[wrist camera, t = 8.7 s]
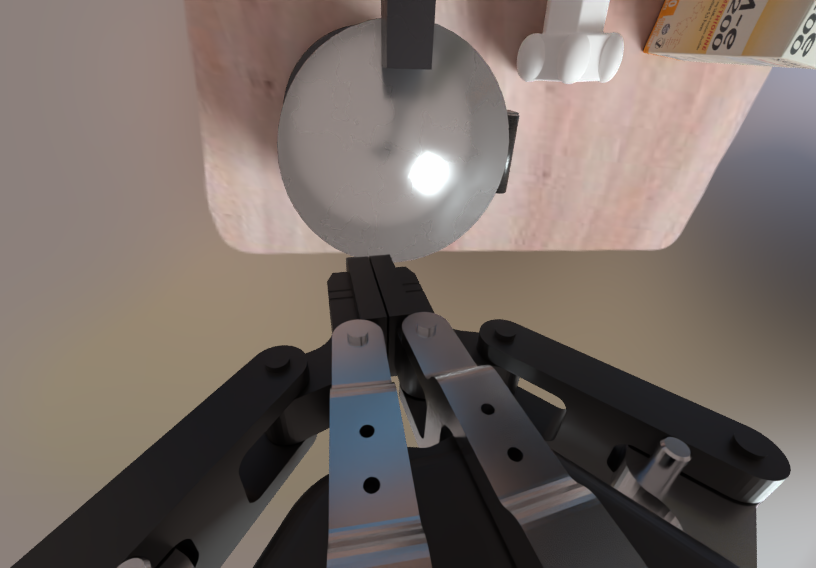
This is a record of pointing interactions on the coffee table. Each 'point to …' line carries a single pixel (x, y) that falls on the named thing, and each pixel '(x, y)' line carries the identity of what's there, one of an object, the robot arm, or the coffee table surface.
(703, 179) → the coffee table surface
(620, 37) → the white bone
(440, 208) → the cooker lid
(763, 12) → the supplement box
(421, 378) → the robot arm
